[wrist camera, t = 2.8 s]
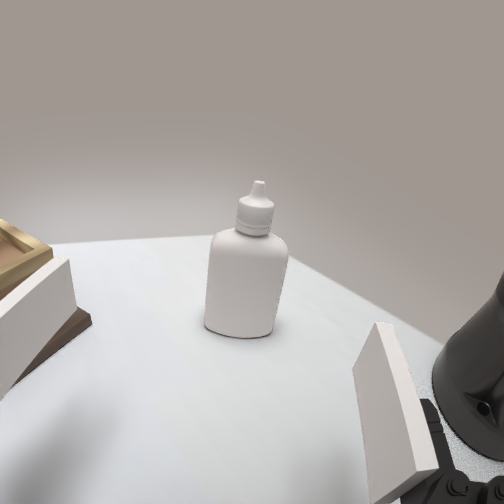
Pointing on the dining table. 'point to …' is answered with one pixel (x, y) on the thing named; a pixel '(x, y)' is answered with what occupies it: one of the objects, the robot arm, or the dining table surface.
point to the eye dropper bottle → (246, 271)
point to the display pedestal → (23, 266)
